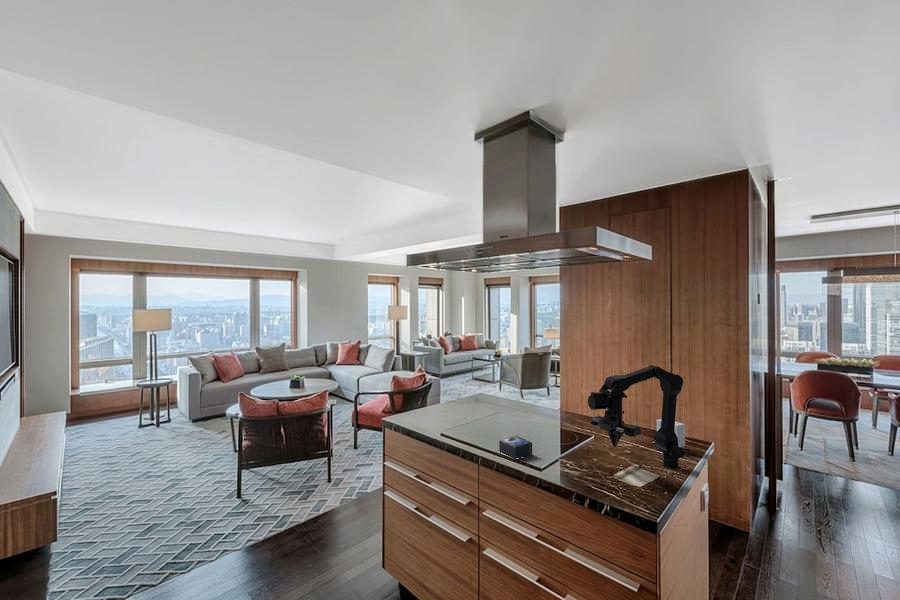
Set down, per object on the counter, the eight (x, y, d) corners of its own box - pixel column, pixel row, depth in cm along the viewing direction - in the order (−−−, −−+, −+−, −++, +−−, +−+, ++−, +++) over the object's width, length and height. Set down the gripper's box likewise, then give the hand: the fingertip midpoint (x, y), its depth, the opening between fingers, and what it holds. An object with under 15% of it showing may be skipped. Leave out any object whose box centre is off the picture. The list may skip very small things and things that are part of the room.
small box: (532, 441, 165) (515, 447, 160) (533, 456, 165) (515, 462, 160) (515, 434, 174) (498, 439, 168) (516, 448, 174) (499, 454, 168)
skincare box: (685, 446, 176) (685, 423, 176) (677, 448, 173) (677, 425, 173) (664, 438, 186) (664, 417, 186) (655, 441, 183) (655, 419, 183)
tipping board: (635, 467, 154) (635, 464, 154) (659, 476, 146) (659, 472, 146) (613, 478, 145) (613, 474, 145) (638, 489, 137) (638, 484, 137)
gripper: (582, 406, 155) (582, 444, 155) (626, 418, 140) (626, 459, 140) (598, 402, 162) (598, 438, 162) (641, 412, 147) (641, 452, 147)
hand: (614, 446), depth 153 cm, fingers closed
